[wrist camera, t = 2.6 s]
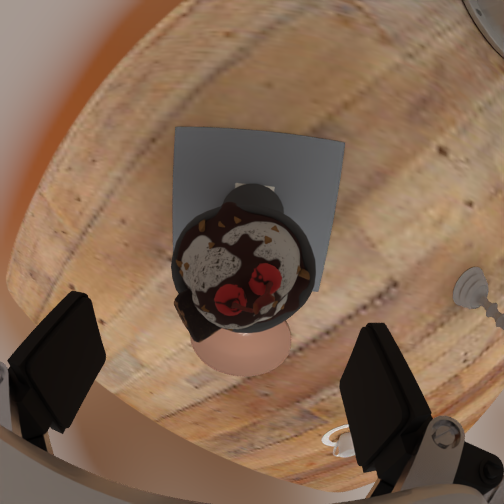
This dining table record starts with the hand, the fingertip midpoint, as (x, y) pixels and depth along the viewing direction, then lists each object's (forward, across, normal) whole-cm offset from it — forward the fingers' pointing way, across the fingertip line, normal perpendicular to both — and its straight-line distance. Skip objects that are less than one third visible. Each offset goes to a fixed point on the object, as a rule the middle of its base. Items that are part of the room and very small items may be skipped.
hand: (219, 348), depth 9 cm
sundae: (+15, -1, -1) cm, 15 cm away
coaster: (+15, -1, +12) cm, 19 cm away
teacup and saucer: (+16, -22, +33) cm, 43 cm away
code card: (+15, -1, -1) cm, 15 cm away
